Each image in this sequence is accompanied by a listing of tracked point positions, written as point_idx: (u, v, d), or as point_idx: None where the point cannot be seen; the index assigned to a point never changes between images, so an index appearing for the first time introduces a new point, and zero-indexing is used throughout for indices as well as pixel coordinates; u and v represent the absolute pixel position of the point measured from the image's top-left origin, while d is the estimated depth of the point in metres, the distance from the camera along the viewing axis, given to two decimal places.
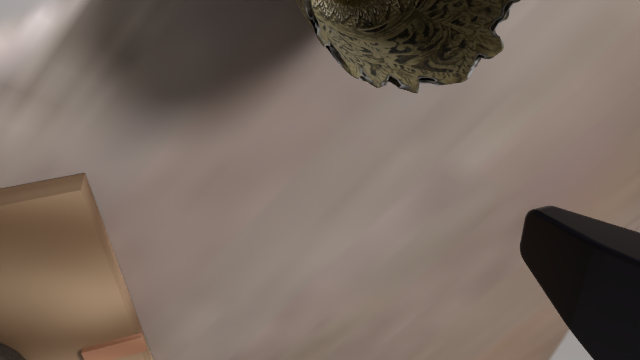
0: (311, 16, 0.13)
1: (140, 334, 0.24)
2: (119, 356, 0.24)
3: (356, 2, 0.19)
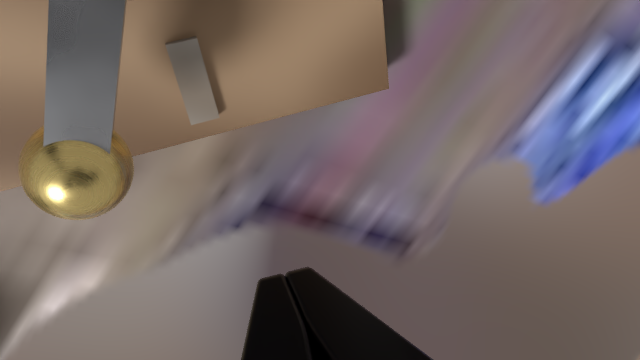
0: None
1: None
2: None
3: None
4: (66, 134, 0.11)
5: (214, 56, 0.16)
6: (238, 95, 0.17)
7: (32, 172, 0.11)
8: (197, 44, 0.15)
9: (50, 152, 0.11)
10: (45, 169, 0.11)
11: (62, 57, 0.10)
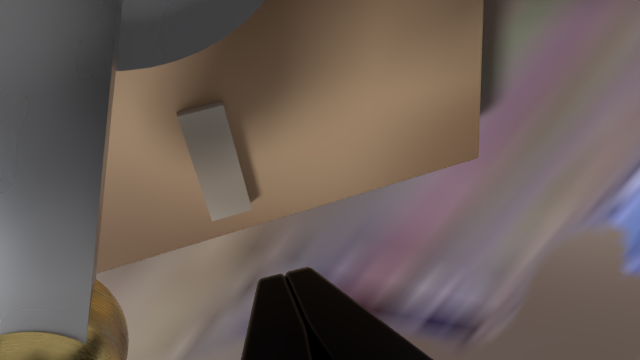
0: None
1: None
2: None
3: None
4: (5, 326, 0.06)
5: (247, 126, 0.11)
6: (278, 177, 0.12)
7: None
8: (223, 114, 0.10)
9: None
10: None
11: None
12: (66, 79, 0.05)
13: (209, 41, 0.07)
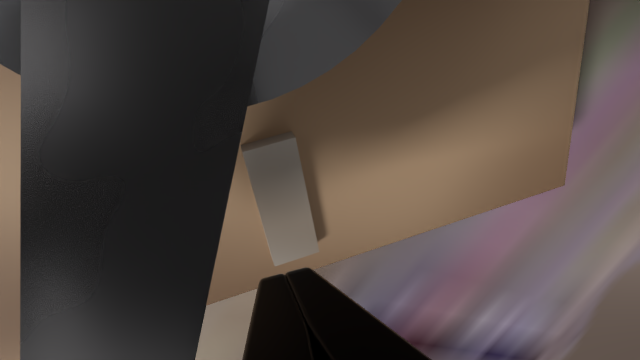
0: None
1: None
2: None
3: None
4: None
5: (317, 159, 0.10)
6: (348, 213, 0.10)
7: None
8: (295, 147, 0.09)
9: None
10: None
11: (63, 321, 0.04)
12: (179, 153, 0.03)
13: (313, 74, 0.06)
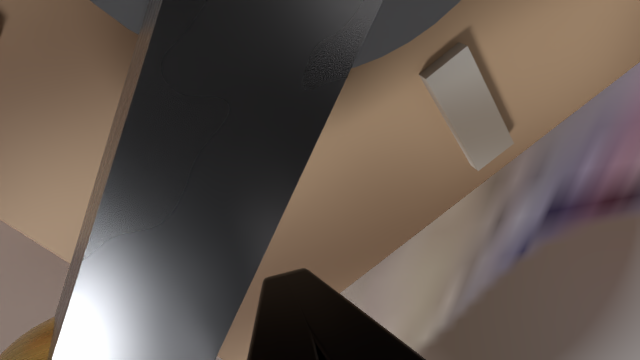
0: None
1: None
2: None
3: None
4: None
5: (488, 58, 0.10)
6: (528, 98, 0.11)
7: None
8: (470, 55, 0.09)
9: None
10: None
11: (130, 242, 0.04)
12: (286, 87, 0.04)
13: (367, 57, 0.06)
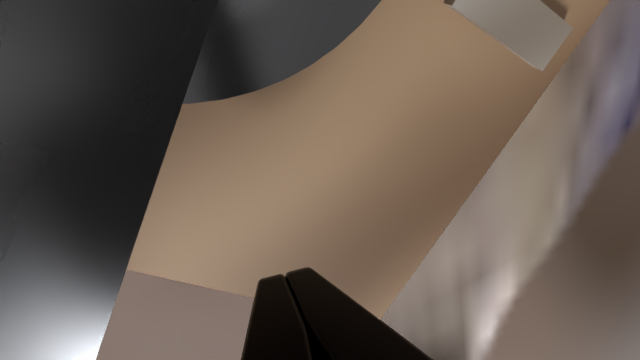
0: None
1: None
2: None
3: None
4: None
5: None
6: None
7: None
8: None
9: None
10: None
11: None
12: (110, 130, 0.03)
13: (267, 81, 0.06)
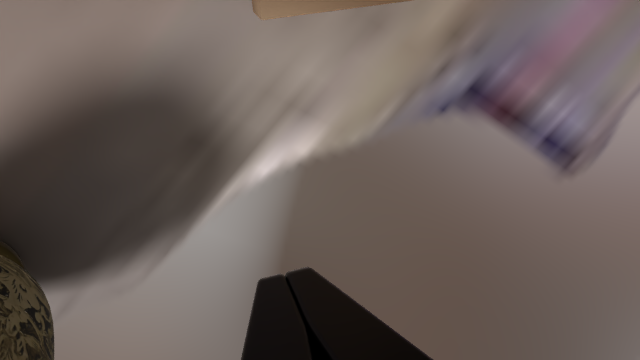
0: None
1: None
2: None
3: None
4: None
5: None
6: None
7: None
8: None
9: None
10: None
11: None
12: None
13: None
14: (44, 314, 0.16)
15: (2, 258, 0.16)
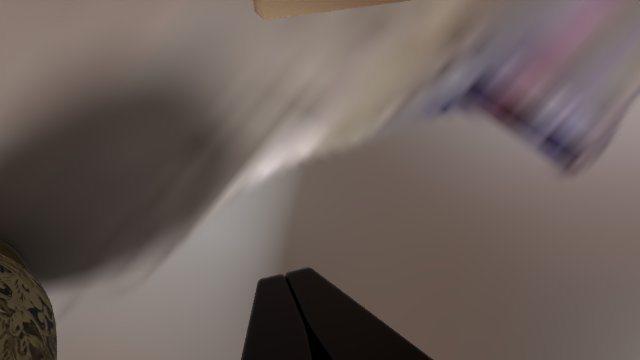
0: None
1: None
2: None
3: None
4: None
5: None
6: None
7: None
8: None
9: None
10: None
11: None
12: None
13: None
14: (47, 314, 0.16)
15: (4, 258, 0.16)
